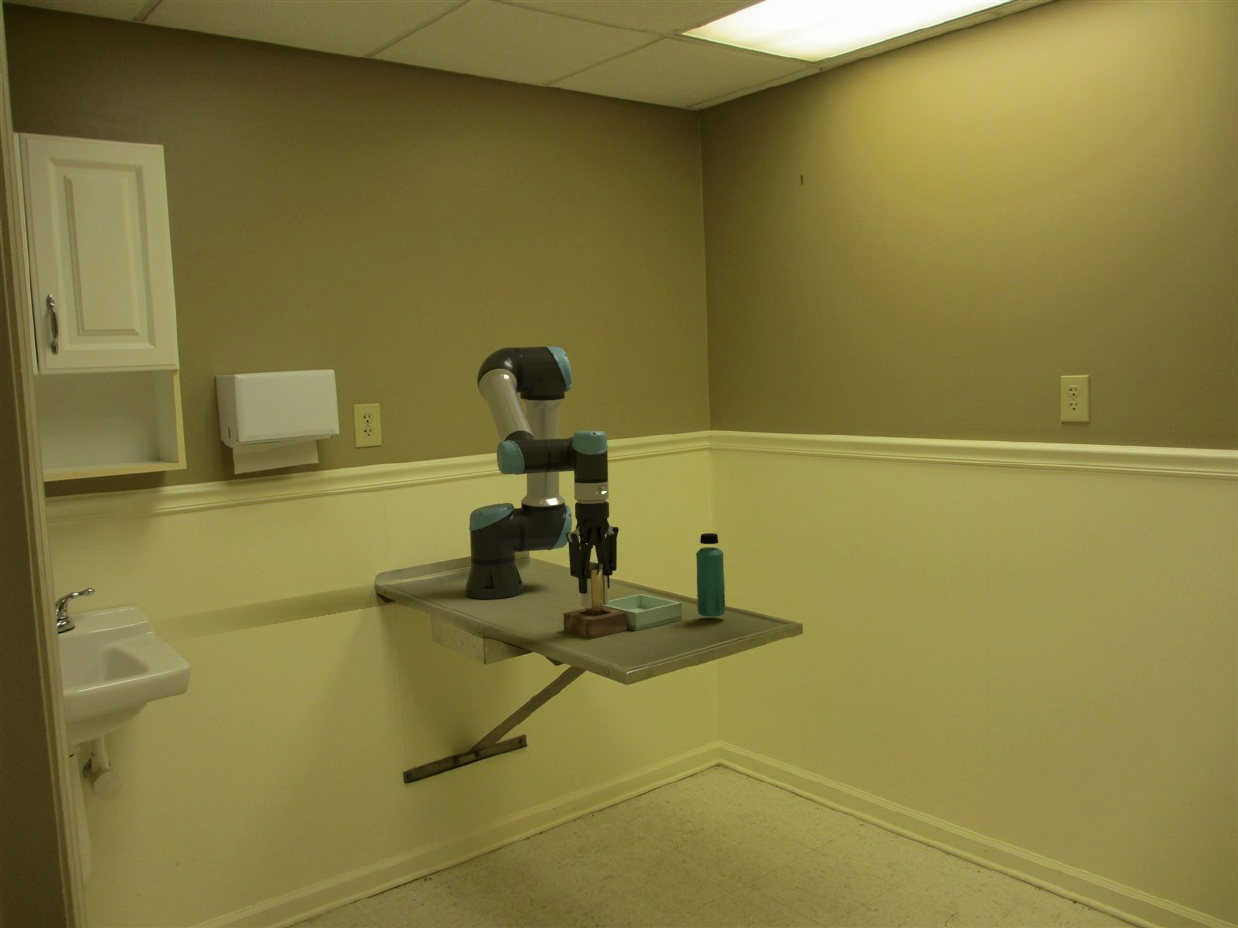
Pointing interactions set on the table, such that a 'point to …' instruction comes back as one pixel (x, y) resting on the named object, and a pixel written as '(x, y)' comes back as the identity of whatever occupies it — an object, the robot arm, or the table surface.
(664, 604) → the tray
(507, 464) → the robot arm
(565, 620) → the block
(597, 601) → the amber rounded cylinder
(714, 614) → the beverage bottle
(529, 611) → the table surface
